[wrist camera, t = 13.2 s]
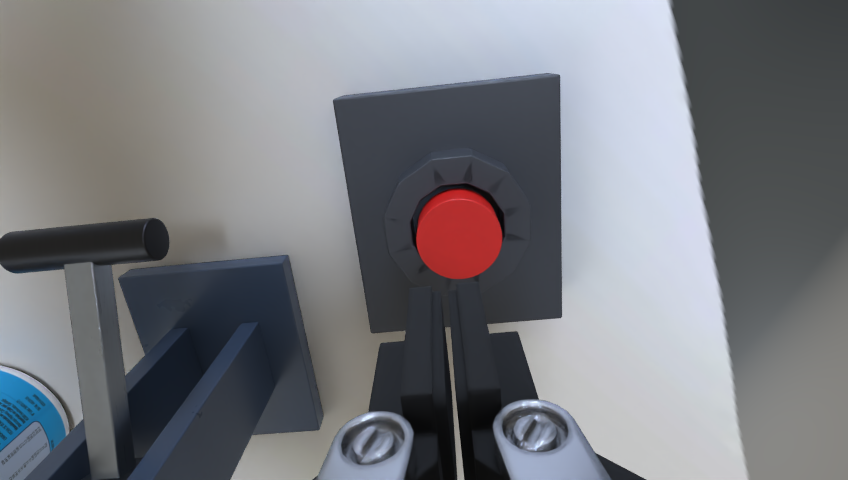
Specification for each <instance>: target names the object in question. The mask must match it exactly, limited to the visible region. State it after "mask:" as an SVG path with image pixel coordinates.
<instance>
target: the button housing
mask: <svg viewBox="0 0 848 480" xmlns="http://www.w3.org/2000/svg"><path fill="white" fill-rule="evenodd" d="M333 104H334V110H335V117H336V123H337V129H338V135H339V141H340V147H341V153H342V159H343V165H344V171H345V177H346V183H347V189H348V196H349V202H350V208H351V214H352V220H353V226H354V232H355V238H356V244H357V250H358V256H359V262H360V268H361V275H362V281H363V287H364V293H365V299H366V305H367V311H368V317H369V323H370V329H371V333H382V332H394V331H406V322H407V310H408V298H409V288H415V287H426V286H432V291H433V292H435V291H441V296H442V305H443V315H444V324H445V327H451V325H450V312H449V298H448V290H457V289H456V284H459V283H470V282H478V283H479V288H480V292H481V297H482V302H483V307H484V312H485V316H486V321H487V324H493V323H505V322H518V321H530V320H542V319H555V318H561V317H562V262H561V133H560V75H558V74H550V73H545V74H536V75H527V76H518V77H509V78H500V79H491V80H481V81H472V82H463V83H454V84H445V85H436V86H427V87H418V88H408V89H399V90H390V91H381V92H372V93H363V94H354V95H344V96H341V97H338V98H336V99H334V100H333ZM455 188H461V189H468V190H471V191H474V192H476V193H478V194H480V195H481V196H483V197H484V198H485V199H486V200H487V201H488V202H489V203H490V204H491V206H492V207H493V209H494V211H495V214H496V216H497V219H498V221H499V224H500V227H501V230H502V246H501V249H500V252H499V255H498V257H497V258H496V260H495V261H494V263H493V264H492V265H491V266H490V267H489V268H488V269H486V270H485V271H484V272H482V273H480V274H478V275H476V276H474V277H470V278H465V279H451V278H447V277H444V276H441V275H439V274H437V273H435V272H434V271H432V270H431V269H430V268H429V267H428V266H427V265H426V264H425V263H424V262H423V260H422V259H421V257H420V255H419V252H418V249H417V244H416V236H417V226H418V219H419V215H420V213H421V211H422V209H423V207H424V206H425V204H426V203H427V202H428V201H429V200H430V199H431V198H432V197H433V196H435V195H436V194H438V193H440V192H442V191H445V190H448V189H455Z"/></svg>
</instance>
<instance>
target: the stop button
mask: <svg viewBox="0 0 848 480" xmlns="http://www.w3.org/2000/svg"><path fill="white" fill-rule="evenodd" d="M416 244H417V249H418V252H419V255H420V257H421V259H422V260H423V262H424V263H425V264H426V265H427V266H428V267H429V268H430V269H431V270H432V271H434V272H435V273H437V274H439V275H441V276H444V277H447V278H451V279H465V278H470V277H474V276H476V275H478V274H480V273H482V272H484V271H485V270H486V269H488V268H489V267H490V266H491V265H492V264H493V263H494V261H495V260H496V258H497V257H498V255H499V252H500V249H501V246H502V230H501V227H500V224H499V221H498V219H497V216H496V214H495V211H494V209H493V207H492V206H491V204H490V203H489V202H488V201H487V200H486V199H485V198H484V197H483V196H481V195H480V194H478V193H476V192H474V191H471V190H468V189H461V188H455V189H448V190H445V191H442V192H440V193H438V194H436V195H435V196H433V197H432V198H431V199H430V200H429V201H428V202H427V203H426V204H425V206H424V207H423V209H422V211H421V213H420V215H419V219H418V226H417V236H416Z"/></svg>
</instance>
